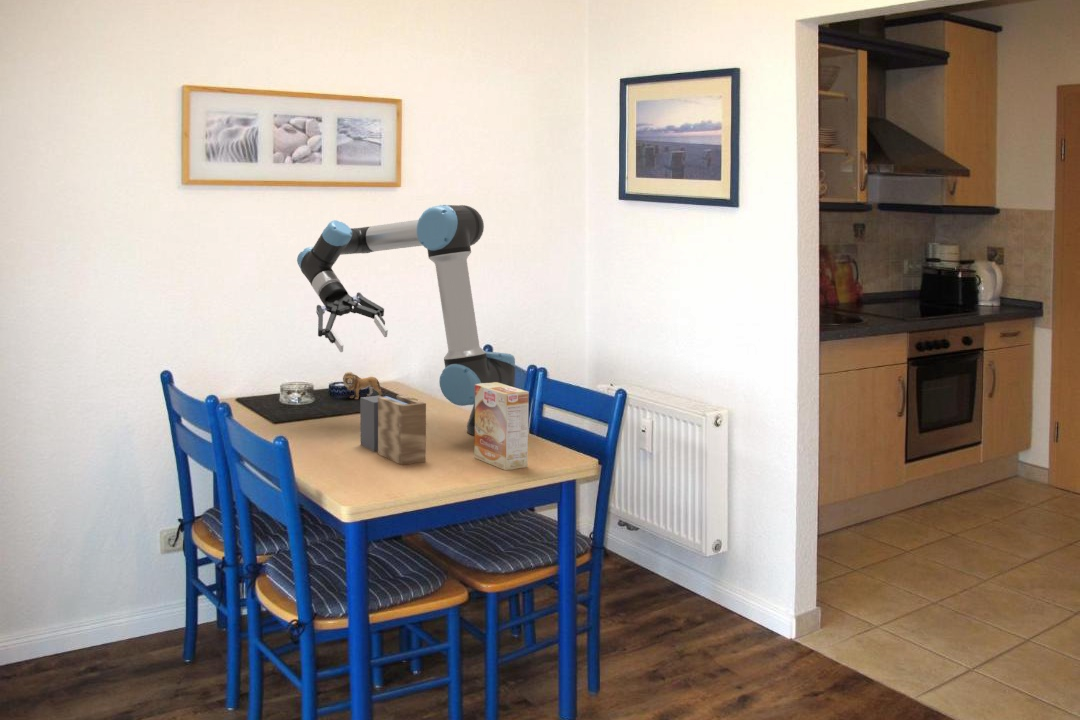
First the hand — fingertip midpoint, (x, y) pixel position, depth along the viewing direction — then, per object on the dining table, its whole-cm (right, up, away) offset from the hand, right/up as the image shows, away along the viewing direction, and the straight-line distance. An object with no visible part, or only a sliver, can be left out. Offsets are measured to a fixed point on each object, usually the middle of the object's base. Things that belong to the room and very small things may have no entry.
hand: (364, 341), depth 301 cm
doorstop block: (+5, -28, -11) cm, 31 cm away
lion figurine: (-9, -18, +55) cm, 58 cm away
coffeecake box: (+39, -32, -25) cm, 56 cm away
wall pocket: (+13, -30, -22) cm, 39 cm away
